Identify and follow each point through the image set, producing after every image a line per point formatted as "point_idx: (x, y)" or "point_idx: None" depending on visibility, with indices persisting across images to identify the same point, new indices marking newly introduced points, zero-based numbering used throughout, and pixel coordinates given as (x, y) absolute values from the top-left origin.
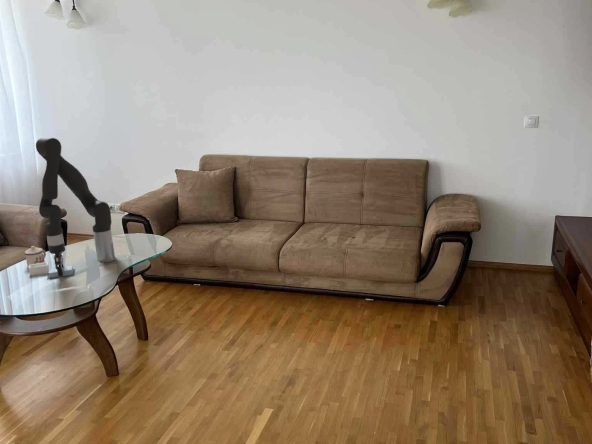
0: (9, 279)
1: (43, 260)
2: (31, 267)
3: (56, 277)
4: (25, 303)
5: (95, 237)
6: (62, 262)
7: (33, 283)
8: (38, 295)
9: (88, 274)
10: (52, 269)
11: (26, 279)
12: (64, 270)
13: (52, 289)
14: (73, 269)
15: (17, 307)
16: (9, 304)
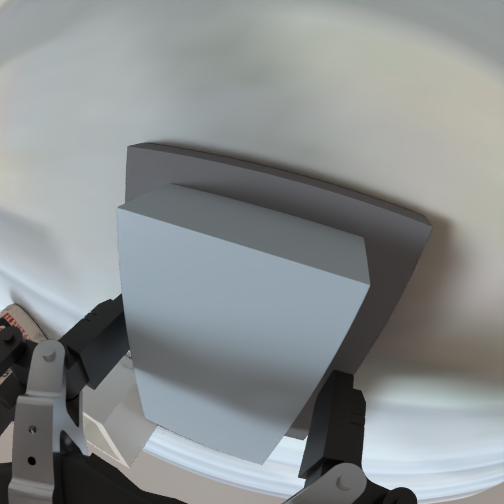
0: (154, 452)
1: None
2: (123, 461)
3: (312, 397)
4: (492, 475)
5: None
6: (66, 359)
7: (276, 458)
8: (481, 458)
9: (430, 18)
10: (168, 417)
11: (183, 443)
12: (301, 381)
13: (492, 420)
14: (139, 174)
15: (491, 483)
16: (442, 498)
